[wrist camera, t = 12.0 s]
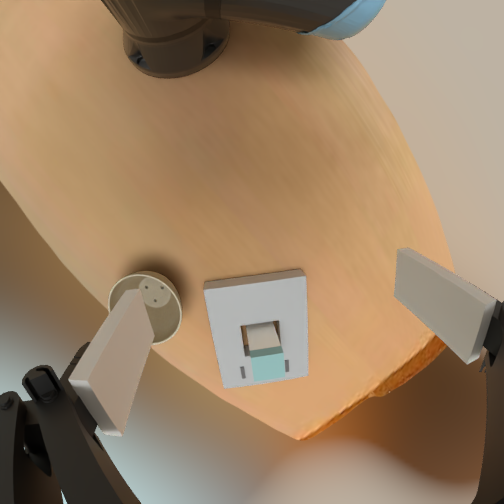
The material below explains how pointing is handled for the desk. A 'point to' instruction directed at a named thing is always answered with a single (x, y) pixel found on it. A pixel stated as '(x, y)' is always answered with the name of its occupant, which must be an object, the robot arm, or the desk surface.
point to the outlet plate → (258, 311)
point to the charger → (265, 351)
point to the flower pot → (153, 302)
